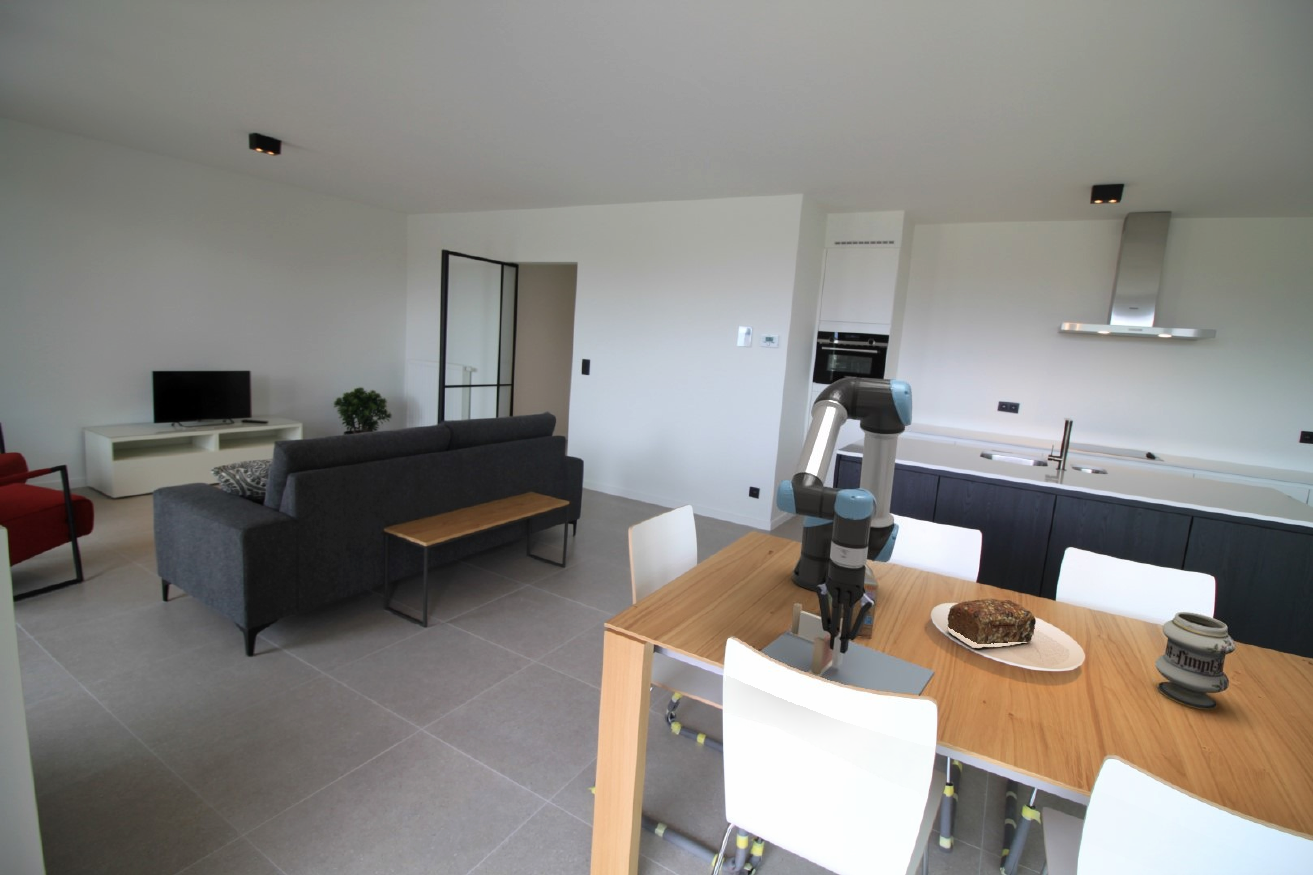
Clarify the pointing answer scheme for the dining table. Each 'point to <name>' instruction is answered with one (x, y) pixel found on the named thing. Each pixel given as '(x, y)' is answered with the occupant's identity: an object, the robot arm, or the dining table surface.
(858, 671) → the board
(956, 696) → the dining table surface
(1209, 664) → the apothecary jar
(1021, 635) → the bread
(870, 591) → the milk carton
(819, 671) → the fence panel
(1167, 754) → the dining table surface
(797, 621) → the fence fixed
